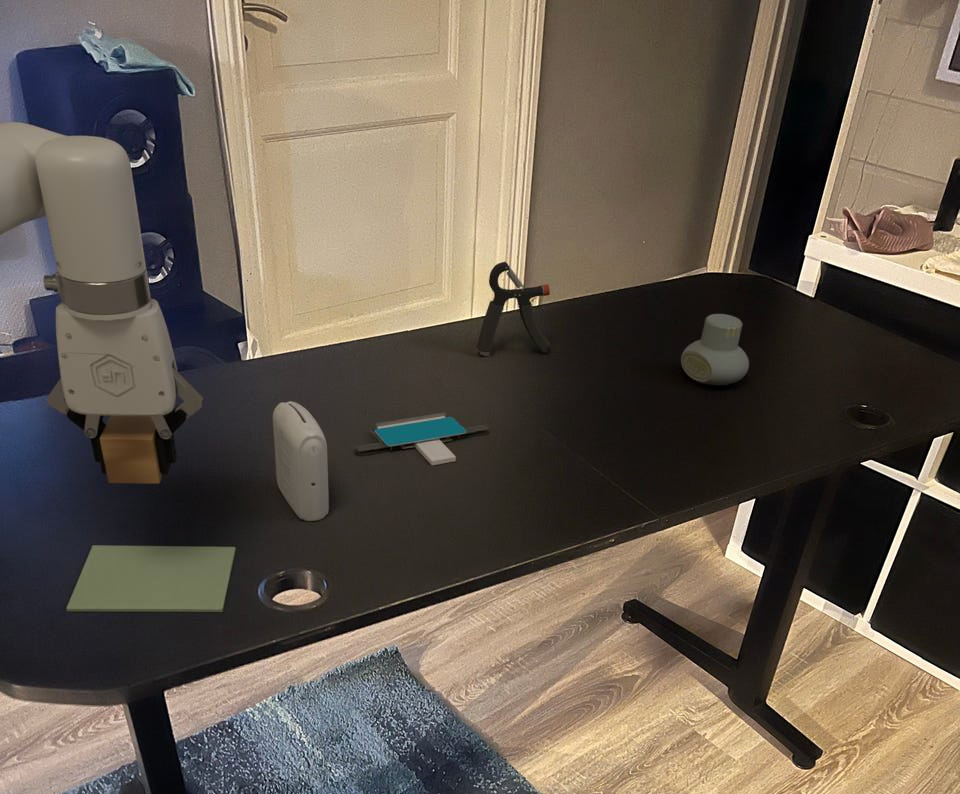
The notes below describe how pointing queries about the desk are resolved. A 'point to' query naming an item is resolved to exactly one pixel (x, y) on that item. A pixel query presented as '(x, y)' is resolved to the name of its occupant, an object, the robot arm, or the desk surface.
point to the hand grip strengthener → (499, 302)
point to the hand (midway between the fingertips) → (137, 466)
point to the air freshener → (717, 352)
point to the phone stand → (420, 436)
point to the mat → (153, 579)
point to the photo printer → (301, 461)
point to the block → (130, 450)
